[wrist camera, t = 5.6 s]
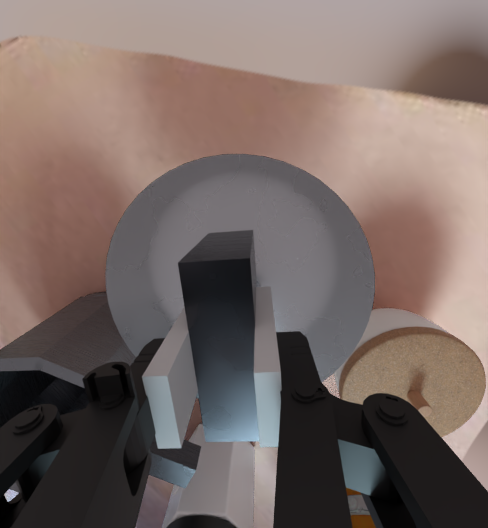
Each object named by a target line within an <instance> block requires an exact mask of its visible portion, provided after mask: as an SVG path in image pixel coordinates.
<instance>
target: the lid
mask: <svg viewBox="0 0 488 528" xmlns="http://www.w3.org/2000/svg"><path fill="white" fill-rule="evenodd" d="M105 275H106V292H107V298H108V304H109V307H110V310H111V314H112V317H113V320H114V322H115V324H116V327H117V329H118V331H119V333H120V335H121V337H122V338H123V340H124V341H125V343H126V345H127V346H128V348H129V349H130V350H131V352H132V353H133V354H134V355H135V357H137V356H139V353H140V351H141V350H142V349H143V347H144V346H145V345H146V344H148V343H149V342H150V341H152V340H153V339H158V338H166V336H167V334H168V333H169V331H170V329H171V328H172V326H173V324H174V323H175V321H176V320H177V318H178V316H179V315H180V313H181V311H182V310H183V308H184V307H185V313H186V319H187V326H188V331H189V337H190V343H191V349H192V356H193V362H194V368H195V375H196V381H197V387H198V393H197V396H196V398H198V399H199V403H200V410H201V416H202V423H203V429H204V436H205V442H240V441H259V429H258V417H257V406H256V394H255V382H254V341H255V321H256V287H267V286H271V294H272V303H273V311H274V319H275V328H276V332H292V331H300V332H301V333H302V334H303V335H304V336H305V337H307V339H308V343H309V346H310V349H311V352H312V355H313V358H314V361H315V365H316V368H317V371H318V374H319V377H320V380H321V382H323V381H324V380H325V379H327V378H328V377H329V376H331V375H332V374H333V373H334V372H335V371H336V370H337V369H338V368H339V367H340V366H341V365H342V364H343V363H344V362H345V361H346V360H347V359H348V357H349V356H350V355H351V354H352V352H353V351H354V349H355V348H356V346H357V344H358V343H359V341H360V340H361V338H362V336H363V333H364V331H365V329H366V327H367V324H368V322H369V318H370V315H371V311H372V307H373V301H374V293H375V272H374V266H373V260H372V255H371V251H370V248H369V245H368V242H367V239H366V237H365V235H364V233H363V230H362V228H361V226H360V224H359V222H358V221H357V219H356V218H355V216H354V215H353V213H352V212H351V210H350V209H349V207H348V206H347V205H346V204H345V203H344V202H343V201H342V200H341V199H340V197H339V196H338V195H337V194H336V193H335V192H334V191H333V190H331V189H330V188H329V187H328V186H326V185H325V184H324V183H323V182H322V181H320V180H319V179H317V178H316V177H314V176H312V175H311V174H309V173H307V172H306V171H304V170H302V169H300V168H298V167H295V166H293V165H291V164H288V163H286V162H283V161H280V160H276V159H272V158H268V157H265V156H257V155H249V154H223V155H217V156H210V157H204V158H201V159H198V160H195V161H191V162H188V163H185V164H183V165H181V166H179V167H177V168H175V169H173V170H170V171H168V172H167V173H165V174H164V175H162V176H161V177H159V178H158V179H156V180H155V181H153V182H152V183H151V184H150V185H149V186H147V187H146V188H145V189H144V190H143V191H142V192H141V193H140V194H139V195H138V196H137V197H136V198H135V199H134V201H133V202H132V203H131V204H130V206H129V207H128V208H127V209H126V211H125V213H124V214H123V216H122V218H121V219H120V221H119V223H118V225H117V227H116V230H115V232H114V234H113V237H112V239H111V243H110V247H109V251H108V255H107V262H106V272H105Z"/></svg>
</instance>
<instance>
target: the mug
mask: <svg viewBox="0 0 488 528" xmlns="http://www.w3.org/2000/svg"><path fill="white" fill-rule="evenodd" d="M346 491H347V497H348V503H349V509H350V515H351V521H352V527H353V528H376V527H375V525H374V522H373V520H372V518H371V515H370V513H369V511H368V509H367V506H366V504H365V502H364V499H363V497H362V495H361V492H358V491H355V490H352V489H349V488H346Z"/></svg>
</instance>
